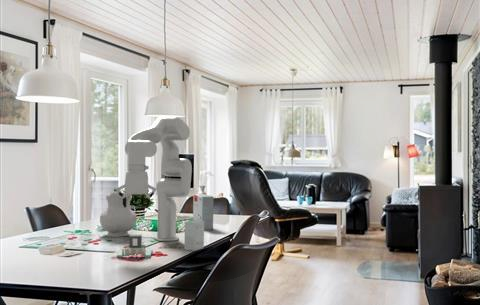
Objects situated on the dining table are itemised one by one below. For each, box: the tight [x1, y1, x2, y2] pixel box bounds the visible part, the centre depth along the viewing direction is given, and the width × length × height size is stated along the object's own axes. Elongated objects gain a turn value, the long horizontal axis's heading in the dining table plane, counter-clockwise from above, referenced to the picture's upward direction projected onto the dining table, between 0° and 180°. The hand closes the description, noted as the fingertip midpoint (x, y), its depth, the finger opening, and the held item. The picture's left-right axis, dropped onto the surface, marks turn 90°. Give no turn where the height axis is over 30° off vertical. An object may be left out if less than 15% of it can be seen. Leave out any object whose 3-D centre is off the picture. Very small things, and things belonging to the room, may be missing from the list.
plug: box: [128, 234, 143, 248], centre depth 225 cm, size 5×5×7 cm
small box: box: [184, 219, 205, 252], centre depth 242 cm, size 8×6×13 cm
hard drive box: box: [192, 193, 214, 231], centre depth 308 cm, size 16×8×20 cm, turn 25°
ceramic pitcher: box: [99, 188, 138, 238], centre depth 277 cm, size 22×20×25 cm
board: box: [116, 244, 153, 259], centre depth 225 cm, size 14×14×4 cm
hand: (136, 207), depth 227 cm, fingers open, 9 cm apart
